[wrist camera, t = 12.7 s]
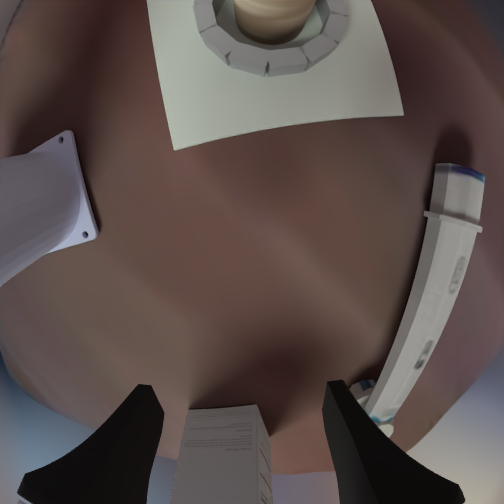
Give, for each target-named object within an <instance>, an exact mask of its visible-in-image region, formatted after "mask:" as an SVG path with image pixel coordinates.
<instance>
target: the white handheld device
mask: <svg viewBox="0 0 504 504" xmlns="http://www.w3.org/2000/svg"><path fill="white" fill-rule="evenodd" d="M484 181H485V175H483V174H481V173H479V172H477V171H475V170H474V169H472V168H468V167H464V166H460V165H456V164H451V163H439V164H436V166H435V176H434V184H433V191H432V198H431V204H430V210H429V212H428V211H424V216H426V217H428V221H427V227H426V232H425V237H424V242H423V246H422V251H421V255H420V259H419V263H418V267H417V271H416V275H415V279H414V282H413V286H412V289H411V293H410V296H409V300H408V303H407V306H406V309H405V312H404V315H403V318H402V321H401V324H400V327H399V330H398V332H397V335H396V338H395V341H394V343H393V346H392V348H391V351H390V353H389V356H388V358H387V361H386V363H385V366H384V368H383V370H382V373H381V375H380V377H379V379H378V381H376V380H362V381H360V382H358V383H355V384H353V385H351V386H352V387H351V388H350V389H349V390H350V391H351V393H352V394H353V396H354V397H355V398H356V400H357V401H358V403H359V404H360V405H361V407H362V408H363V409H364V410H365V412H366V413H367V414H368V415H369V417H370V418H371V419H372V420H373V421H374V423H375V424H376V425H377V426H378V427H379V428H380V429H381V430H382V431H383V432H384V434H385V435H386V436H387V437H388V438H389V437H390V436H391V434H392V433H393V426H394V419H393V417H394V415H395V414H396V412H397V411H398V409H399V408H400V406H401V405H402V403H403V402H404V400H405V399H406V397H407V396H408V394H409V392H410V391H411V389H412V387H413V386H414V384H415V382H416V381H417V379H418V377H419V376H420V374H421V372H422V370H423V368H424V367H425V365H426V363H427V361H428V359H429V357H430V355H431V353H432V351H433V350H434V348H435V346H436V343H437V341H438V339H439V337H440V335H441V333H442V331H443V329H444V326H445V324H446V322H447V320H448V317H449V315H450V313H451V310H452V308H453V305H454V303H455V300H456V297H457V295H458V292H459V289H460V287H461V284H462V281H463V278H464V275H465V272H466V269H467V266H468V263H469V259H470V256H471V253H472V249H473V245H474V242H475V238H476V234H477V232H481V233H482V228H483V227H480V226H478V224H479V218H480V212H481V206H482V198H483V190H484Z"/></svg>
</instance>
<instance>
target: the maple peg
mask: <svg viewBox="0 0 504 504" xmlns="http://www.w3.org/2000/svg"><path fill="white" fill-rule="evenodd" d="M315 2H316V0H233V6H234V13H235V20H236V24H237V27H238V29H239V30H240V32H241V33H242V34H243V35H244V36H246V37H247V38H248V39H250V40H252V41H254V42H257V43H260V44H265V45H279V44H284V43H287V42H289V41H291V40H293V39H295V38H296V37H297V36H298V35H299V34H300V33H301V31H302V30H303V27H304V25H305V23H306V21H307V19H308V17H309V14H310V12H311V10H312V8H313V6H314V4H315Z"/></svg>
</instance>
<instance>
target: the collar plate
mask: <svg viewBox="0 0 504 504" xmlns="http://www.w3.org/2000/svg"><path fill="white" fill-rule="evenodd" d="M147 6H148V13H149V20H150V27H151V34H152V40H153V46H154V52H155V58H156V64H157V70H158V75H159V80H160V86H161V91H162V96H163V101H164V106H165V111H166V116H167V120H168V125H169V130H170V134H171V139H172V143H173V147H174V150H179V149H183V148H186V147H190V146H194V145H198V144H202V143H206V142H210V141H214V140H218V139H222V138H227V137H231V136H236V135H241V134H246V133H251V132H256V131H261V130H267V129H272V128H278V127H284V126H291V125H298V124H305V123H313V122H321V121H330V120H340V119H351V118H366V117H386V116H403V115H404V113H403V108H402V102H401V98H400V93H399V88H398V84H397V80H396V76H395V72H394V68H393V64H392V61H391V57H390V54H389V50H388V47H387V44H386V40H385V37H384V34H383V31H382V28H381V26H380V23H379V20H378V17H377V15H376V12H375V10H374V7H373V4H372V2H371V0H316V2H315V4H314V6H313V8H312V10H311V12H310V14H309V17H308V19H307V21H306V23H305V25H304V27H303V30H302V31H301V33H300V34H299V35H298V36H297V37H296V38H295V39H293V40H291V41H289V42H287V43H284V44H279V45H265V44H260V43H257V42H254V41H252V40H250V39H248V38H247V37H246V36H244V35H243V34H242V33H241V32H240V30H239V29H238V27H237V24H236V20H235V13H234V6H233V0H147Z"/></svg>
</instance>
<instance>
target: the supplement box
mask: <svg viewBox="0 0 504 504" xmlns="http://www.w3.org/2000/svg"><path fill="white" fill-rule="evenodd" d="M170 504H273V498H272V474H271V445H270V438H269V435H268V433H267V430H266V428H265V425H264V422H263V420H262V417H261V414H260V412H259V409H258V406H257V405H256V404H255V405H247V406H239V407H228V408H215V409H196V410H188V411H187V416H186V421H185V426H184V431H183V436H182V441H181V446H180V452H179V457H178V462H177V468H176V474H175V478H174V484H173V489H172V495H171V501H170Z"/></svg>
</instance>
